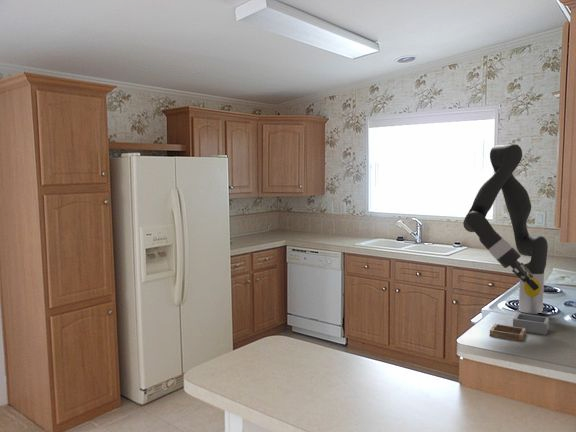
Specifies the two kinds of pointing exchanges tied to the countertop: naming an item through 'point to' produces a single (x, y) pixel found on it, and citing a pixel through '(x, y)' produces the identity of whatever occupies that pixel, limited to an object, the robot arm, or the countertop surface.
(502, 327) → the cradle
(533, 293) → the lemon
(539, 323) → the holder
